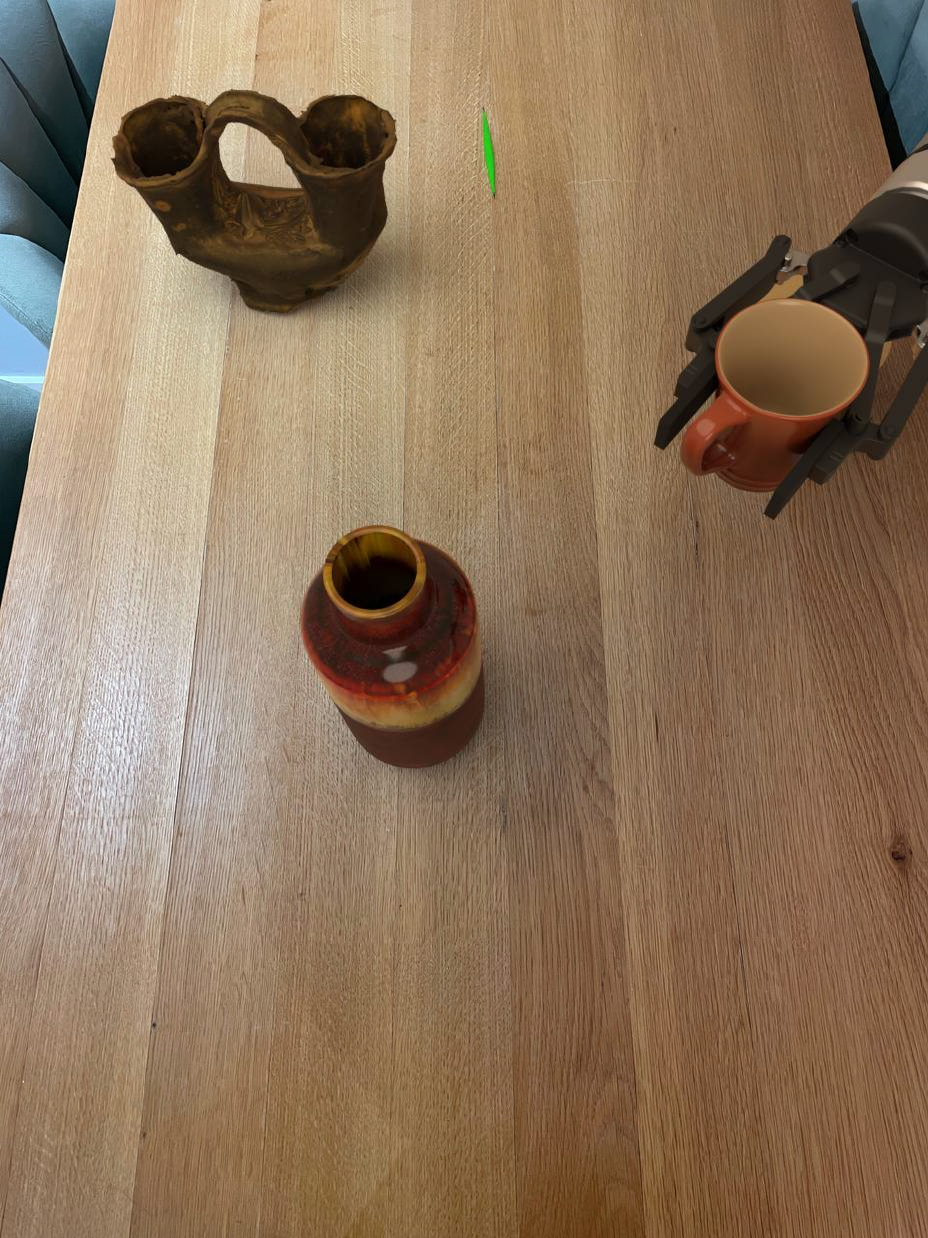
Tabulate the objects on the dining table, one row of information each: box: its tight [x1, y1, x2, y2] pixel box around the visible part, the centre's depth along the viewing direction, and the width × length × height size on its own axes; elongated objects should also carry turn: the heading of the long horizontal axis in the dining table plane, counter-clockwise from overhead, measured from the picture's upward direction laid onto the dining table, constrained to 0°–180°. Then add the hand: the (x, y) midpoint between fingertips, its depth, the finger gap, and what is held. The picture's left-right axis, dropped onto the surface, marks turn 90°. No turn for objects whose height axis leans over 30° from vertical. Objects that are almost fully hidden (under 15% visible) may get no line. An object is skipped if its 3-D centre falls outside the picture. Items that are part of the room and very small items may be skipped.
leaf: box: [482, 106, 496, 200], centre depth 100 cm, size 1×14×1 cm, turn 4°
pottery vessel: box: [110, 88, 398, 315], centre depth 85 cm, size 25×11×20 cm, turn 87°
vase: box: [299, 524, 486, 770], centre depth 64 cm, size 11×11×26 cm
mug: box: [679, 298, 869, 494], centre depth 59 cm, size 12×9×10 cm
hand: (717, 469), depth 57 cm, fingers closed on mug, 7 cm apart
